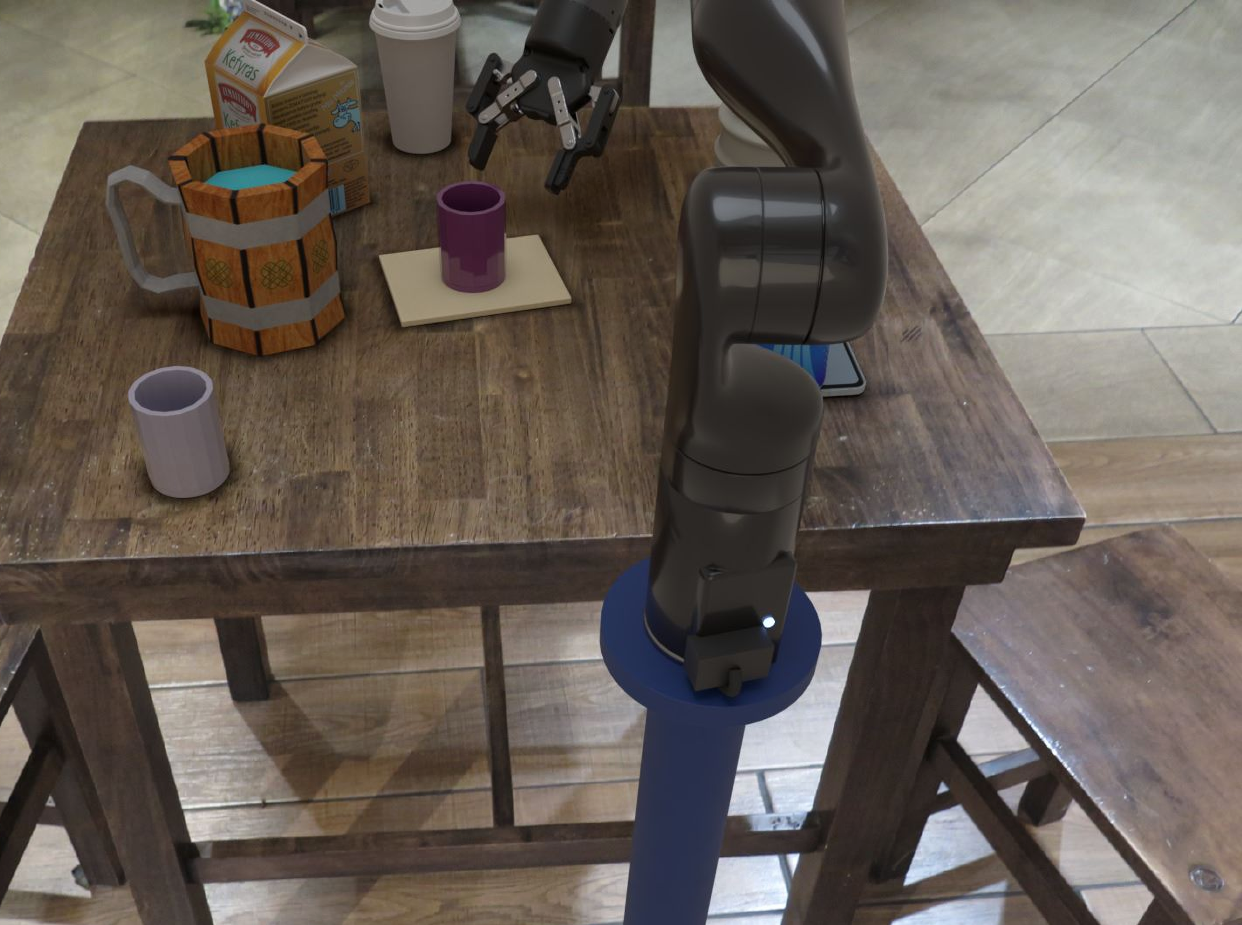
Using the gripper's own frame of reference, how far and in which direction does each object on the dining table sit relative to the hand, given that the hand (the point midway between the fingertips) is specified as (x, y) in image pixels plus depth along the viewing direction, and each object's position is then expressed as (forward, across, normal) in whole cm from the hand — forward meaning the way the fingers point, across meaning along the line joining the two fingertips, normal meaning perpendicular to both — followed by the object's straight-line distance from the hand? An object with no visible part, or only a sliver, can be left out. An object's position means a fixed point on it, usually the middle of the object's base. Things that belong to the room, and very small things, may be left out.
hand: (512, 179), depth 119 cm
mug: (+22, -15, -11) cm, 29 cm away
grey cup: (+35, -2, -25) cm, 43 cm away
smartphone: (+5, +31, +5) cm, 32 cm away
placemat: (+10, 0, 0) cm, 10 cm away
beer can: (+10, +31, 0) cm, 33 cm away
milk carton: (+8, -24, +2) cm, 25 cm away
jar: (-7, +20, +17) cm, 27 cm away
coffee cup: (-4, -21, +15) cm, 26 cm away
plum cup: (+10, 0, 0) cm, 10 cm away
